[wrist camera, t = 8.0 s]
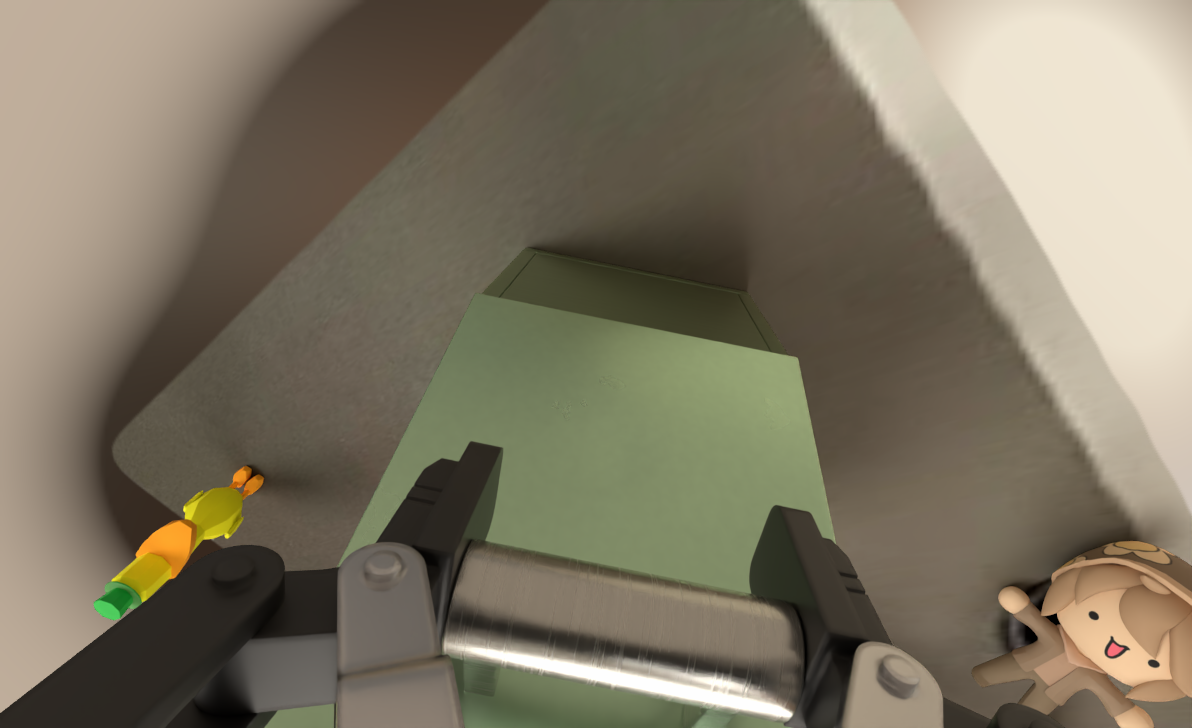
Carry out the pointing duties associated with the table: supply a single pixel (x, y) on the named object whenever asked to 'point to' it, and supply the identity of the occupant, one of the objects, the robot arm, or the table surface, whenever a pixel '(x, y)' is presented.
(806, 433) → the bin lid
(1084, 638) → the action figure
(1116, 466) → the table surface
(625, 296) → the bin
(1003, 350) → the table surface
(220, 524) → the toy figure
